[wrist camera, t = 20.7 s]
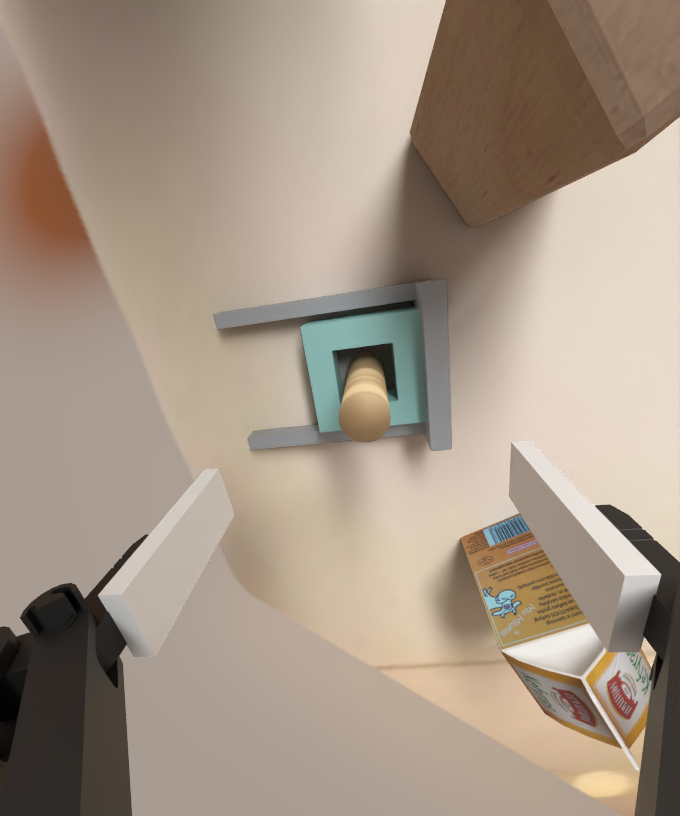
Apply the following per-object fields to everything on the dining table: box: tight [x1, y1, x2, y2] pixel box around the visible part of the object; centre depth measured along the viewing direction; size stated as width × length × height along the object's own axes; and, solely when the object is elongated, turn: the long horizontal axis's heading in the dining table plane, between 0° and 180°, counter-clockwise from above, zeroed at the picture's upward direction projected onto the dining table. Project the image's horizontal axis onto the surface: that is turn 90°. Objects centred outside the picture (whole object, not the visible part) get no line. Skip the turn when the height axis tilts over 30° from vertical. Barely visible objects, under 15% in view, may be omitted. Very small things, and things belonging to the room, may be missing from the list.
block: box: [410, 0, 680, 228], centre depth 18 cm, size 10×10×20 cm
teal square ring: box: [300, 306, 426, 433], centre depth 34 cm, size 11×11×4 cm
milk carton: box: [461, 513, 652, 771], centre depth 34 cm, size 11×11×19 cm
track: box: [213, 279, 452, 451], centre depth 33 cm, size 16×22×6 cm
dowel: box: [339, 352, 391, 442], centre depth 29 cm, size 4×4×14 cm
